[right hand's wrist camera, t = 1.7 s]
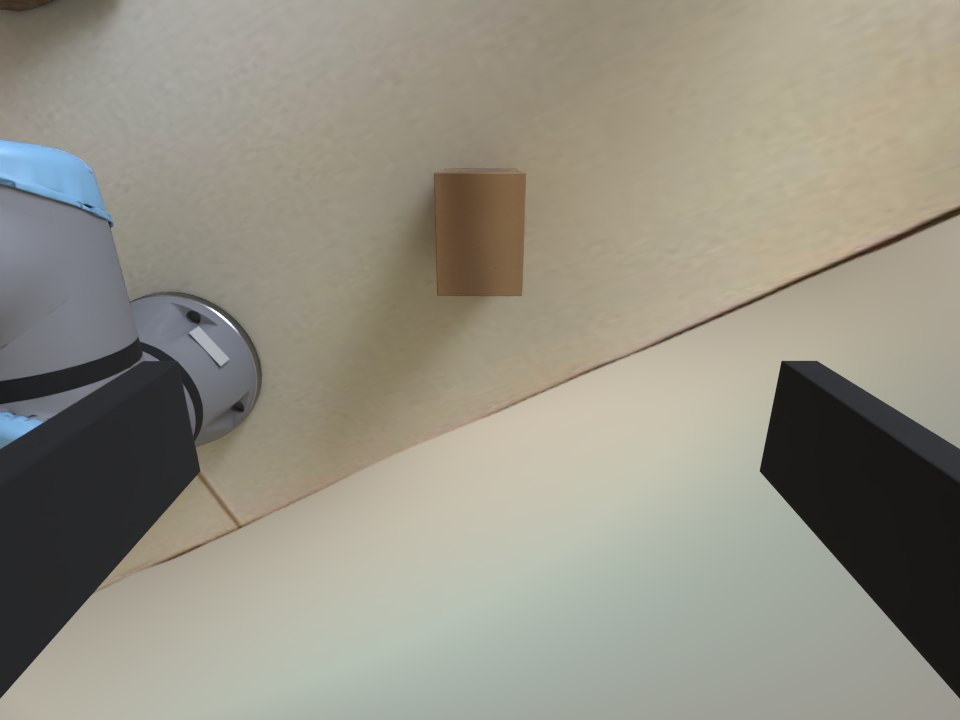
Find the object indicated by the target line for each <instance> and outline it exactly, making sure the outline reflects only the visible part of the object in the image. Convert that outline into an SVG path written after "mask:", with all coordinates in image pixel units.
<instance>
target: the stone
mask: <svg viewBox="0 0 960 720" xmlns="http://www.w3.org/2000/svg"><path fill="white" fill-rule="evenodd" d="M52 1H53V0H0V9H3V10H13V11H23V10H27V9H32V8H35V7H38V6H42V5H45V4H46V3H48V2H52Z"/></svg>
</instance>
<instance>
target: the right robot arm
mask: <svg viewBox="0 0 960 720" xmlns="http://www.w3.org/2000/svg"><path fill="white" fill-rule="evenodd" d="M111 227H113V220H112V218H111V217H110V215H109V214H108V213H107V212H106V209H105V206H104V203H103V199H102V196H101V193H100V190H99V186H98V183H97V180H96V177H95V175H94V173H93V172H92V170H91V168H90V167H89V166H88V165H87V164H86V163H84V162H83V161H82V160H81V159H80V158H78V157H76V156H74V155H72V154H71V153H68V152H66V151H62V150H59V149H55V148H51V147H46V146H41V145H35V144H29V143H22V142H15V141H7V140H0V698H1V697H2V696H3V695H4V694H5V692H6V691H7V690H8V689H9V688H10V687H11V686H12V685H13V683H14V682H15V681H16V680H17V679H18V678H19V676H20V675H21V674H22V673H23V672H24V671H25V670H26V669H27V667H28V666H29V665H30V664H31V663H32V662H33V661H34V659H35V658H36V657H37V656H38V655H39V654H40V653H41V652H42V650H43V649H44V648H45V647H46V646H47V645H48V644H49V642H50V641H51V640H52V639H53V638H54V637H55V636H56V635H57V633H58V632H59V631H60V630H61V629H62V628H63V627H64V625H65V624H66V623H67V622H68V621H69V620H70V619H71V617H72V616H73V615H74V614H75V613H76V612H77V611H78V610H79V608H80V607H81V606H82V605H83V604H84V603H85V602H86V600H87V599H88V598H89V597H90V596H91V595H92V594H93V592H94V591H95V590H96V589H97V588H98V587H99V586H100V585H101V583H102V582H103V581H104V580H105V579H106V578H107V577H108V575H109V574H110V573H111V572H112V571H113V570H114V569H115V567H116V566H117V565H118V564H119V563H120V562H121V561H122V560H123V558H124V557H125V556H126V555H127V554H128V553H129V552H130V550H131V549H132V548H133V547H134V546H135V545H136V544H137V542H138V541H139V540H140V539H141V538H142V537H143V536H144V535H145V533H146V532H147V531H148V530H149V529H150V528H151V527H152V525H153V524H154V523H155V522H156V521H157V520H158V519H159V517H160V516H161V515H162V514H163V513H164V512H165V511H166V510H167V508H168V507H169V506H170V505H171V504H172V503H173V502H174V500H175V499H176V498H177V497H178V496H179V495H180V494H181V492H182V491H183V490H184V489H185V488H186V487H187V486H188V485H189V483H190V482H191V481H192V480H193V479H194V478H195V477H196V475H197V474H198V473H199V472H200V467H199V462H198V457H197V452H196V447H197V446H200V445H203V444H206V443H208V442H211V441H214V440H216V439H219V438H221V437H222V436H224V435H226V434H227V433H229V432H230V431H232V430H233V429H234V428H236V427H237V426H238V425H239V424H240V423H241V422H242V421H243V420H244V419H245V418H246V416H247V415H248V414H249V413H250V412H251V410H252V409H253V407H254V405H255V403H256V401H257V399H258V396H259V393H260V388H261V366H260V361H259V358H258V354H257V352H256V349H255V347H254V345H253V343H252V341H251V339H250V338H249V336H248V335H247V333H246V332H245V330H244V329H243V328H242V327H241V326H240V324H239V323H238V322H237V321H236V320H235V319H234V318H233V317H231V316H230V315H229V314H228V313H227V312H225V311H224V310H223V309H221V308H219V307H218V306H216V305H215V304H213V303H211V302H209V301H207V300H204V299H202V298H199V297H196V296H193V295H189V294H185V293H178V292H160V293H153V294H149V295H146V296H143V297H140V298H138V299H135V300H133V301H131V302H130V301H129V297H128V293H127V290H126V286H125V282H124V278H123V274H122V271H121V267H120V263H119V259H118V255H117V251H116V248H115V244H114V240H113V236H112V232H111ZM760 472H761V473H762V474H763V475H764V476H765V478H766V479H767V480H768V481H769V482H770V483H771V485H772V486H773V487H774V488H775V489H776V490H777V491H778V492H779V494H780V495H781V496H782V497H783V498H784V499H785V500H786V502H787V503H788V504H789V505H790V506H791V507H792V508H793V510H794V511H795V512H796V513H797V514H798V515H799V516H800V517H801V519H802V520H803V521H804V522H805V523H806V524H807V525H808V527H809V528H810V529H811V530H812V531H813V532H814V533H815V534H816V536H817V537H818V538H819V539H820V540H821V541H822V542H823V544H824V545H825V546H826V547H827V548H828V549H829V550H830V552H831V553H832V554H833V555H834V556H835V557H836V558H837V560H838V561H839V562H840V563H841V564H842V565H843V566H844V567H845V569H846V570H847V571H848V572H849V573H850V574H851V575H852V577H853V578H854V579H855V580H856V581H857V582H858V583H859V584H860V586H861V587H862V588H863V589H864V590H865V591H866V592H867V594H868V595H869V596H870V597H871V598H872V599H873V600H874V602H875V603H876V604H877V605H878V606H879V607H880V608H881V609H882V611H883V612H884V613H885V614H886V615H887V616H888V617H889V619H890V620H891V621H892V622H893V623H894V624H895V625H896V627H897V628H898V629H899V630H900V631H901V632H902V633H903V635H904V636H905V637H906V638H907V639H908V640H909V641H910V642H911V644H912V645H913V646H914V647H915V648H916V649H917V650H918V652H919V653H920V654H921V655H922V656H923V657H924V658H925V660H926V661H927V662H928V663H929V664H930V665H931V666H932V667H933V669H934V670H935V671H936V672H937V673H938V674H939V675H940V676H941V678H942V679H943V680H944V681H945V682H946V683H947V685H948V686H949V687H950V688H951V689H952V690H953V691H954V692H955V694H956V695H957V696H958V697H959V698H960V449H959V448H957V447H956V446H954V445H952V444H951V443H949V442H947V441H946V440H944V439H943V438H941V437H939V436H938V435H936V434H934V433H933V432H931V431H930V430H928V429H926V428H925V427H923V426H922V425H920V424H918V423H917V422H915V421H913V420H912V419H910V418H909V417H907V416H905V415H904V414H902V413H900V412H899V411H897V410H896V409H894V408H892V407H891V406H889V405H887V404H886V403H884V402H883V401H881V400H879V399H878V398H876V397H875V396H873V395H871V394H870V393H868V392H866V391H865V390H863V389H862V388H860V387H858V386H857V385H855V384H853V383H852V382H850V381H849V380H847V379H845V378H844V377H842V376H840V375H839V374H837V373H836V372H834V371H832V370H831V369H829V368H827V367H826V366H824V365H823V364H821V363H819V362H818V361H782V362H781V367H780V372H779V377H778V382H777V387H776V392H775V397H774V402H773V407H772V412H771V417H770V422H769V427H768V432H767V437H766V442H765V447H764V452H763V457H762V462H761V467H760Z"/></svg>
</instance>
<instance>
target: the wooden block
mask: <svg viewBox="0 0 960 720" xmlns="http://www.w3.org/2000/svg"><path fill="white" fill-rule="evenodd" d="M434 181H435V223H436V266H437V295H438V296H522V287H523V254H524V221H525V189H526V173H524V172H521V171H519V170H517V169H443V170H441V171H438V172H436V173H434Z"/></svg>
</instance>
